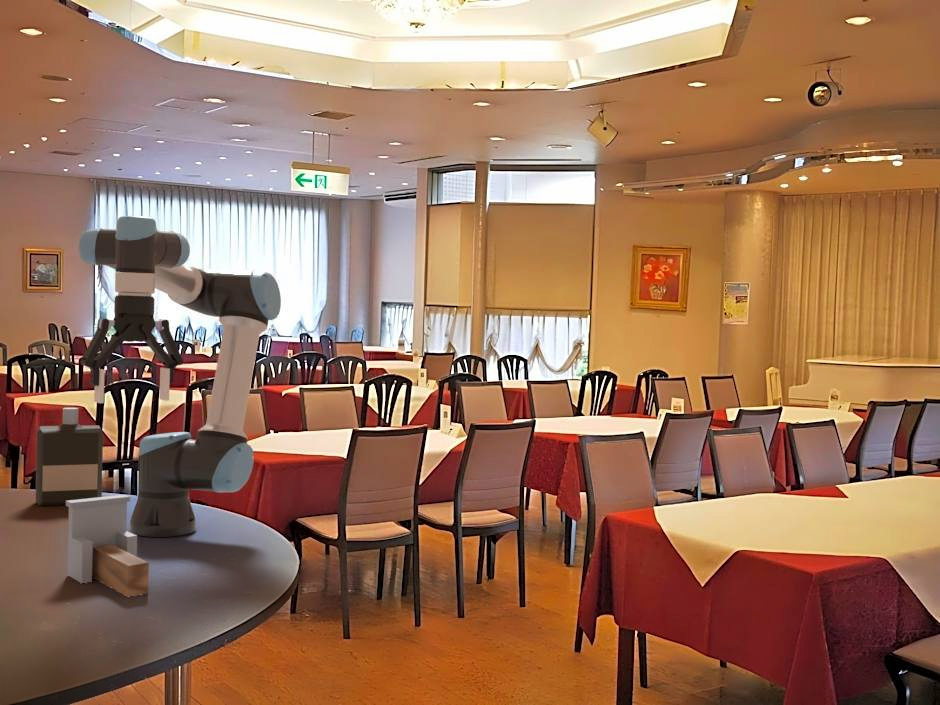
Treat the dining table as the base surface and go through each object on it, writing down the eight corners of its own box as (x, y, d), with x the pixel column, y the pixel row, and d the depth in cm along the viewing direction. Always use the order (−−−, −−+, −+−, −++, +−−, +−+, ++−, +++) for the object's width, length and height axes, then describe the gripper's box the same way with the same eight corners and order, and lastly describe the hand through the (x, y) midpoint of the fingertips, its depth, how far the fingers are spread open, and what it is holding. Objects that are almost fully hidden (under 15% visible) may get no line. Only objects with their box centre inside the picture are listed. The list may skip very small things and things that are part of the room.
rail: (111, 573, 203) (111, 544, 203) (148, 594, 191) (148, 562, 190) (91, 577, 200) (91, 547, 200) (127, 597, 188) (128, 565, 188)
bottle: (35, 501, 268) (36, 406, 267) (99, 498, 275) (101, 406, 274) (36, 507, 261) (38, 410, 260) (102, 504, 268) (104, 409, 266)
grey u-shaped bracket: (122, 566, 209) (124, 494, 208) (138, 574, 203) (140, 500, 202) (64, 575, 200) (65, 500, 200) (78, 584, 195) (80, 507, 194)
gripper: (183, 296, 213) (181, 397, 214) (64, 292, 196) (62, 401, 197) (201, 297, 207) (198, 400, 208) (79, 293, 190) (77, 405, 191)
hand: (132, 401), depth 203 cm, fingers open, 13 cm apart
